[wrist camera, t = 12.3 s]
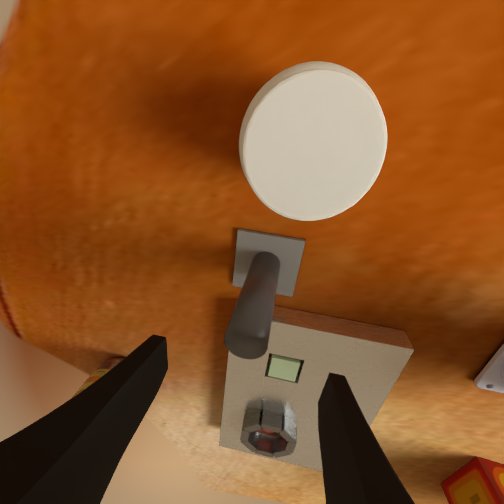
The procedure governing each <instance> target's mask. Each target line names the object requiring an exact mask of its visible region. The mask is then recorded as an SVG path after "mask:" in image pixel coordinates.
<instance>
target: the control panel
mask: <svg viewBox="0 0 504 504" xmlns="http://www.w3.org/2000/svg"><path fill="white" fill-rule="evenodd" d="M237 301H238V299H237ZM236 304H237V302H236ZM235 306H236V305H235ZM234 309H235V308H234ZM233 312H234V310H233ZM232 314H233V313H232ZM413 352H414V348H413V346H412V344H411V342H410V340H409V339H408V337H407V335H406V333H405V331H403V330H398V329H393V328H388V327H383V326H378V325H372V324H367V323H362V322H357V321H352V320H347V319H342V318H336V317H331V316H326V315H321V314H316V313H311V312H306V311H300V310H295V309H290V308H285V307H280V306H275V305H274V310H273V317H272V323H271V329H270V336H269V342H268V349H267V351H266V353H265V354H264V355H263V356H262V357H260V358H257V359H243V358H240V357H237V356H235V355H234V354H232V353H231V352H230V351H229V353H228V363H227V372H226V382H225V392H224V402H223V412H222V422H221V431H220V441H219V446H223V447H227V448H231V449H235V450H239V451H243V452H247V453H251V454H255V455H259V456H263V457H267V458H271V459H275V460H279V461H283V462H287V463H291V464H295V465H299V466H302V467H306V468H310V469H314V470H318V471H322V472H323V469H322V460H321V451H320V442H319V432H318V401H319V398H320V396H321V393H322V390H323V388H324V385H325V383H326V380H327V377H328V375H329V372H330V373H335V374H339V375H344V376H345V377H346V379H347V381H348V384H349V386H350V388H351V390H352V392H353V394H354V396H355V399H356V401H357V403H358V405H359V407H360V409H361V411H362V413H363V415H364V417H365V419H366V421H367V423H368V425H369V427H370V425H371V423H372V422H373V420H374V418H375V417H376V415H377V413H378V411H379V410H380V408H381V406H382V405H383V403H384V401H385V399H386V398H387V396H388V394H389V393H390V391H391V389H392V387H393V386H394V384H395V382H396V381H397V379H398V377H399V375H400V374H401V372H402V370H403V369H404V367H405V365H406V363H407V362H408V360H409V358H410V357H411V355H412V353H413ZM269 353H271V354H276V355H281V356H286V357H290V358H295V359H300V366H299V370H298V373H297V376H296V380H295V382H293V381H289V380H284V379H280V378H275V377H271V376H268V373H269V364H270V359H268V357H269ZM262 429H264V430H268V431H272V432H274V433H268V432H265V431H263V430H262Z"/></svg>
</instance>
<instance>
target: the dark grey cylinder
mask: <svg viewBox="0 0 504 504" xmlns="http://www.w3.org/2000/svg"><path fill="white" fill-rule="evenodd" d="M279 271H280V261H279V259H278V257H277V256H276V255H274V254H273V253H270V252H260V253H258V254H256V255H255V256H254V258H253V260H252V263H251V266H250V268H249V271H248V274H247V276H246V279H245V282H244V285H243V287H242V290H241V293H240V295H239V298H238V301H237V304H236V306H235V309H234V312H233V314H232V317H231V320H230V322H229V325H228V328H227V331H226V333H225V336H224V343H225V346H226V347H227V349H228V350H229V351H230V352H231V353H232V354H234V355H235V356H237V357H240V358H243V359H257V358H260V357H262V356H263V355H264V354H265V353H266V351H267V349H268V342H269V336H270V329H271V323H272V317H273V310H274V304H275V297H276V291H277V284H278V278H279Z"/></svg>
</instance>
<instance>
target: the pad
mask: <svg viewBox="0 0 504 504" xmlns="http://www.w3.org/2000/svg"><path fill="white" fill-rule="evenodd" d="M299 366H300V359H295V358H290V357H286V356H281V355H276V354H271V357H270V364H269V373H268V376H271V377H275V378H280V379H284V380H289V381H293V382H295V380H296V376H297V373H298V370H299Z"/></svg>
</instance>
